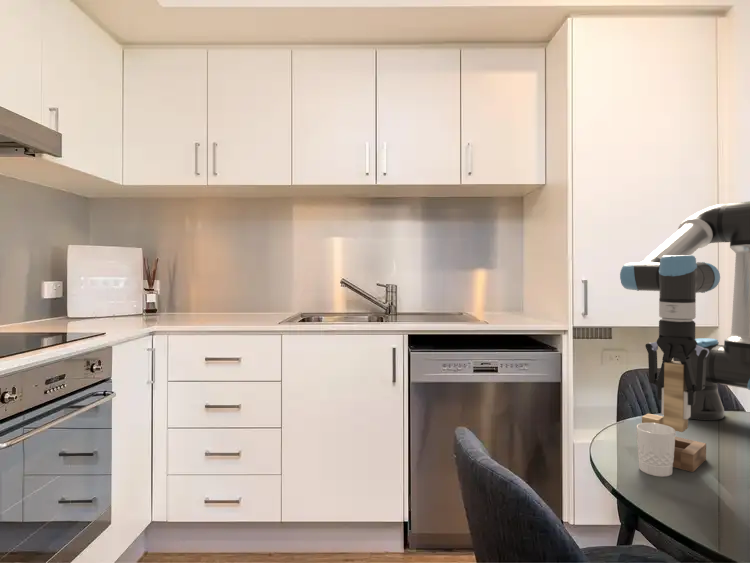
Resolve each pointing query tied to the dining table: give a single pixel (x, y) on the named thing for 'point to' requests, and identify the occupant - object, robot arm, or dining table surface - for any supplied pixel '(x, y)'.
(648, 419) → the short oak peg
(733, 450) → the dining table surface
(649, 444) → the white cup
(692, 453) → the walnut hole block
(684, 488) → the dining table surface
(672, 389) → the long oak peg
